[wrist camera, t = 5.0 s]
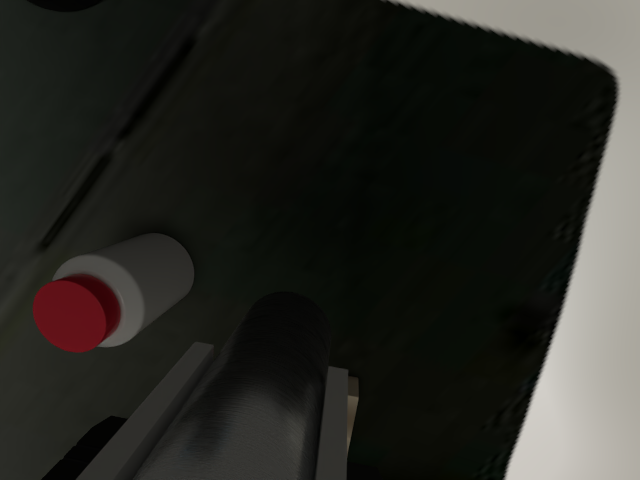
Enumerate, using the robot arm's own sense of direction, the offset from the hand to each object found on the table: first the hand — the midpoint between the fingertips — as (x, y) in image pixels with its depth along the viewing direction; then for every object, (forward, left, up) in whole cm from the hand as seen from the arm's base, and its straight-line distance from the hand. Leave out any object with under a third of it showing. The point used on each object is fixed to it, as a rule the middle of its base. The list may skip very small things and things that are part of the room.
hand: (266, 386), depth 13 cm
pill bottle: (+4, -16, -20) cm, 26 cm away
